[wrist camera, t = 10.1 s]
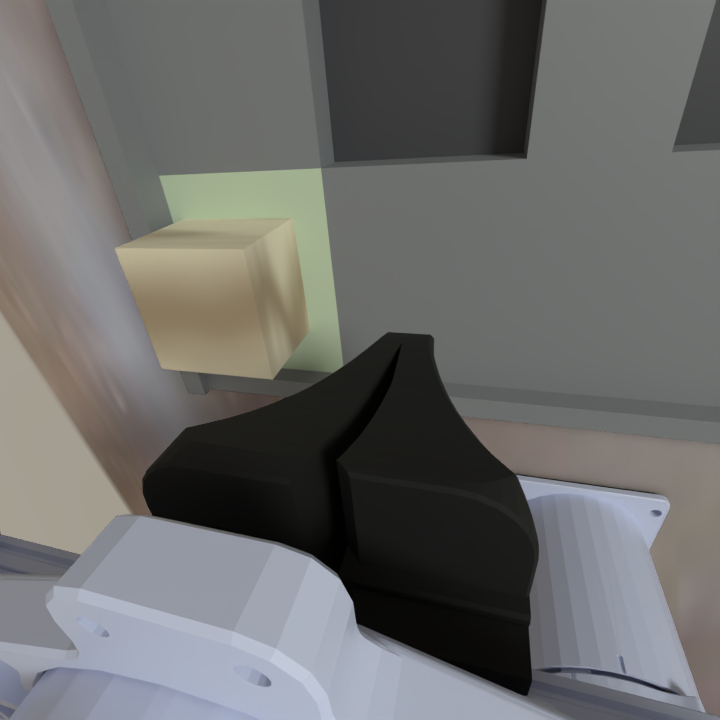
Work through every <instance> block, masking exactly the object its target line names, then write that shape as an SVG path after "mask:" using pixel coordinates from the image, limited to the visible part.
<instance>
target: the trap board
mask: <svg viewBox="0 0 720 720" xmlns="http://www.w3.org/2000/svg"><path fill="white" fill-rule="evenodd" d="M45 3H46V5H47V8H48V11H49V13H50V16H51V19H52V22H53V24H54V27H55V30H56V33H57V35H58V38H59V41H60V44H61V46H62V49H63V52H64V54H65V57H66V60H67V63H68V65H69V68H70V71H71V74H72V76H73V79H74V82H75V85H76V87H77V90H78V93H79V96H80V98H81V101H82V104H83V106H84V109H85V112H86V115H87V117H88V120H89V123H90V126H91V128H92V131H93V134H94V137H95V139H96V142H97V145H98V147H99V150H100V153H101V156H102V158H103V161H104V164H105V167H106V169H107V172H108V175H109V178H110V180H111V183H112V186H113V189H114V191H115V194H116V197H117V199H118V202H119V205H120V208H121V210H122V213H123V216H124V219H125V221H126V224H127V227H128V230H129V232H130V235H131V238H132V240H136V239H138V238H140V237H143V236H145V235H147V234H150V233H152V232H155V231H157V230H159V229H162V228H164V227H167V226H169V225H171V224H174V223H176V222H178V221H181V220H183V219H233V218H293V223H294V229H295V236H296V242H297V249H298V255H299V262H300V268H301V275H302V281H303V287H304V294H305V300H306V307H307V313H308V320H309V326H310V331H309V332H308V333H307V335H306V336H305V337H304V339H303V340H302V341H301V343H300V344H299V345H298V347H297V348H296V349H295V351H294V352H293V353H292V355H291V356H290V357H289V359H288V360H287V361H286V363H285V364H284V365H283V367H282V368H281V369H280V371H279V372H278V373H277V375H276V376H275V377H274V379H273V380H272V379H262V378H252V377H241V376H231V375H221V374H210V373H200V372H190V371H180V372H181V375H182V377H183V380H184V383H185V385H186V388H187V391H188V393H192V394H201V395H206V394H207V393H208V392H209V390H210V389H214V390H223V391H232V392H242V393H251V394H260V395H269V396H279V397H289V396H291V395H294V394H296V393H298V392H300V391H302V390H304V389H306V388H308V387H310V386H312V385H314V384H316V383H318V382H319V381H321V380H323V379H324V378H326V377H328V376H329V375H331V374H332V373H334V372H335V371H337V370H338V369H340V368H341V367H343V366H344V365H346V364H347V363H349V362H350V361H352V360H353V359H354V358H356V357H357V356H358V355H359V354H361V353H362V352H363V351H365V350H366V349H367V348H368V347H370V346H371V345H372V344H373V343H375V342H376V341H377V340H378V339H380V338H381V337H382V336H383V335H385V334H386V333H387V332H396V333H412V334H429V335H431V336H432V337H433V338H434V358H435V362H436V365H437V369H438V372H439V375H440V378H441V380H442V383H443V385H444V387H445V389H446V392H447V394H448V396H449V398H450V400H451V401H452V403H453V405H454V407H455V408H456V410H457V412H458V413H459V415H460V416H465V417H474V418H483V419H493V420H502V421H511V422H521V423H530V424H539V425H548V426H558V427H567V428H576V429H586V430H595V431H604V432H614V433H623V434H632V435H641V436H651V437H660V438H669V439H679V440H688V441H697V442H707V443H716V444H720V0H45Z"/></svg>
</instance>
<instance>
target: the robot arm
mask: <svg viewBox="0 0 720 720" xmlns="http://www.w3.org/2000/svg"><path fill="white" fill-rule="evenodd" d="M142 483H143V495H144V497H145V500H146V503H147V506H148V508H149V510H150V511H151V513H152V515H153V516H151V515H120V516H116V517H115V518H114V519H113V520H112V521H111V522H110V524H109V525H108V526H107V527H106V528H105V529H104V530H103V531H102V532H101V533H100V535H99V536H98V537H97V538H96V539H95V540H94V542H92V544H91V545H90V546H89V547H88V548H87V549H86V550H85V552H84V553H83V554H82V555H80V554H76V553H72V552H68V551H64V550H60V549H56V548H53V547H49V546H45V545H41V544H37V543H33V542H29V541H25V540H21V539H17V538H13V537H9V536H5V535H1V534H0V720H720V716H716V715H712V714H709V713H706V712H705V710H704V707H703V705H702V703H701V700H700V698H699V695H698V692H697V689H696V686H695V683H694V680H693V677H692V674H691V671H690V669H689V666H688V663H687V660H686V657H685V654H684V651H683V648H682V645H681V642H680V639H679V637H678V634H677V631H676V628H675V625H674V622H673V619H672V616H671V613H670V610H669V607H668V605H667V602H666V599H665V596H664V593H663V590H662V587H661V584H660V581H659V578H658V576H657V573H656V570H655V567H654V564H653V561H652V558H651V555H650V552H649V549H650V547H651V545H652V543H653V541H654V539H655V537H656V535H657V533H658V531H659V529H660V527H661V525H662V523H663V521H664V519H665V517H666V515H667V513H668V511H669V508H670V504H669V501H668V499H667V498H666V497H664V496H662V495H657V494H650V493H642V492H635V491H628V490H621V489H614V488H606V487H599V486H592V485H585V484H577V483H570V482H563V481H556V480H549V479H541V478H534V477H527V476H520V475H515V474H514V473H513V472H512V471H511V470H509V469H508V468H507V467H506V466H505V465H504V464H502V463H501V462H500V461H499V460H498V459H497V458H495V457H494V456H493V455H492V454H491V453H490V452H489V451H488V450H487V449H486V448H485V447H484V446H483V444H482V443H481V442H480V441H479V440H478V439H477V437H476V436H475V435H474V434H473V432H472V431H471V430H470V429H469V427H468V426H467V425H466V424H465V422H464V421H463V419H462V418H461V416H460V415H459V413H458V412H457V410H456V408H455V407H454V405H453V403H452V401H451V400H450V398H449V396H448V394H447V392H446V389H445V387H444V385H443V383H442V380H441V378H440V375H439V372H438V369H437V365H436V362H435V358H434V338H433V337H432V336H431V335H429V334H412V333H396V332H387V333H386V334H385V335H383V336H382V337H381V338H380V339H378V340H377V341H376V342H375V343H373V344H372V345H371V346H370V347H368V348H367V349H366V350H365V351H363V352H362V353H361V354H359V355H358V356H357V357H356V358H354V359H353V360H352V361H350V362H349V363H347V364H346V365H344V366H343V367H341V368H340V369H338V370H337V371H335V372H334V373H332V374H331V375H329V376H328V377H326V378H324V379H323V380H321V381H319V382H318V383H316V384H314V385H312V386H310V387H308V388H306V389H304V390H302V391H300V392H298V393H296V394H294V395H291V396H289V397H287V398H284V399H282V400H280V401H277V402H275V403H273V404H270V405H268V406H265V407H262V408H259V409H256V410H253V411H250V412H247V413H244V414H241V415H238V416H234V417H230V418H227V419H223V420H219V421H214V422H210V423H206V424H202V425H198V426H193V427H188V428H185V429H184V431H183V432H182V433H181V434H180V435H179V436H178V437H177V438H176V439H175V440H174V441H173V442H172V444H171V445H170V446H169V447H168V448H167V449H166V450H165V451H164V452H163V453H162V454H161V455H160V457H159V458H158V459H157V460H156V461H155V462H154V463H153V464H152V465H151V466H150V467H149V469H148V470H147V471H146V473H145V475H144V477H143V479H142Z"/></svg>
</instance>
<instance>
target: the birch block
mask: <svg viewBox="0 0 720 720" xmlns="http://www.w3.org/2000/svg"><path fill="white" fill-rule="evenodd" d="M115 251H116V253H117V256H118V258H119V261H120V263H121V266H122V268H123V271H124V273H125V276H126V279H127V281H128V284H129V286H130V289H131V291H132V294H133V296H134V299H135V302H136V304H137V307H138V309H139V312H140V314H141V317H142V319H143V322H144V325H145V327H146V330H147V332H148V335H149V337H150V340H151V342H152V345H153V347H154V350H155V353H156V355H157V358H158V360H159V363H160V365H161V368H162V369H169V370H179V371H190V372H200V373H210V374H221V375H231V376H241V377H252V378H262V379H272V380H273V379H274V377H275V376H276V375H277V373H278V372H279V371H280V369H281V368H282V367H283V365H284V364H285V363H286V361H287V360H288V359H289V357H290V356H291V355H292V353H293V352H294V351H295V349H296V348H297V347H298V345H299V344H300V343H301V341H302V340H303V339H304V337H305V336H306V335H307V333H308V332H309V331H310V326H309V320H308V313H307V307H306V300H305V294H304V287H303V281H302V275H301V268H300V262H299V255H298V249H297V242H296V236H295V229H294V223H293V218H233V219H183V220H181V221H178V222H176V223H174V224H171V225H169V226H167V227H164V228H162V229H159V230H157V231H155V232H152V233H150V234H147V235H145V236H143V237H140V238H138V239H136V240H133V241H131V242H128V243H126V244H124V245H121V246H119V247H116V248H115Z"/></svg>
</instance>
